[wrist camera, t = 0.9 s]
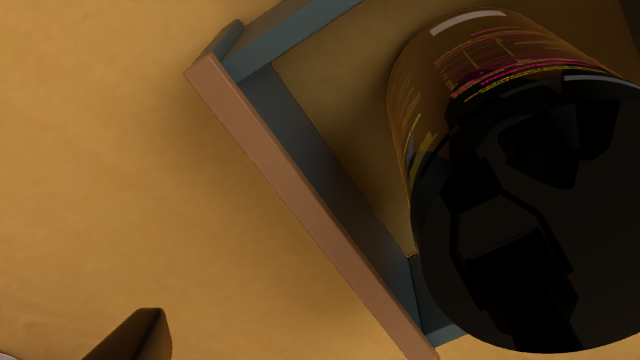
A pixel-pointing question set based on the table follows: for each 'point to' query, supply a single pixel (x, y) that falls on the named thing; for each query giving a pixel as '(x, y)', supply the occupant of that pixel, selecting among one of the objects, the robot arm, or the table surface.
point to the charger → (6, 357)
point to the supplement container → (520, 181)
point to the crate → (321, 167)
